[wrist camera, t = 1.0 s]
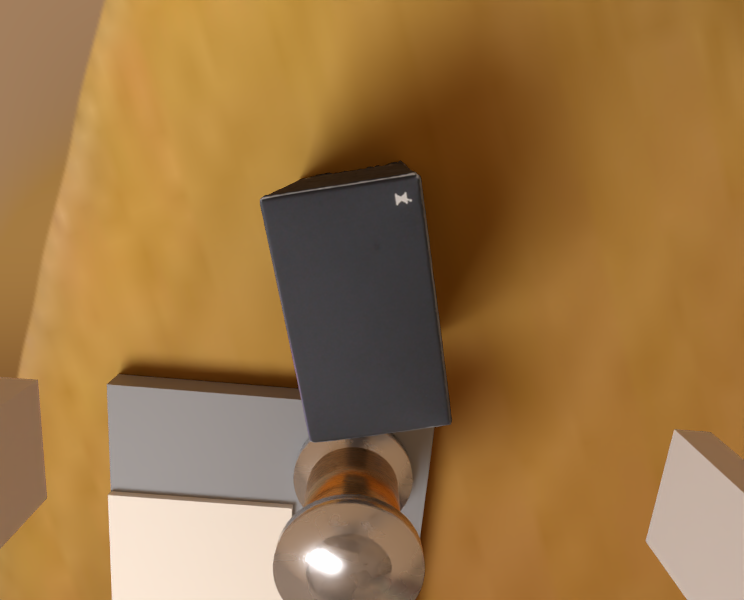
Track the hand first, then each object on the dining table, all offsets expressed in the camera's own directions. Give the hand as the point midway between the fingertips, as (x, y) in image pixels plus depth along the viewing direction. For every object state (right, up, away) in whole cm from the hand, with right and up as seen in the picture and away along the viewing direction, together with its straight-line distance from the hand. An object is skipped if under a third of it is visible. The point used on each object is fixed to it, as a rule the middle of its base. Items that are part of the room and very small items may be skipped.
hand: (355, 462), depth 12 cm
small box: (0, +6, +20) cm, 21 cm away
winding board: (-6, -13, +25) cm, 29 cm away
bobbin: (-1, -7, +22) cm, 23 cm away
